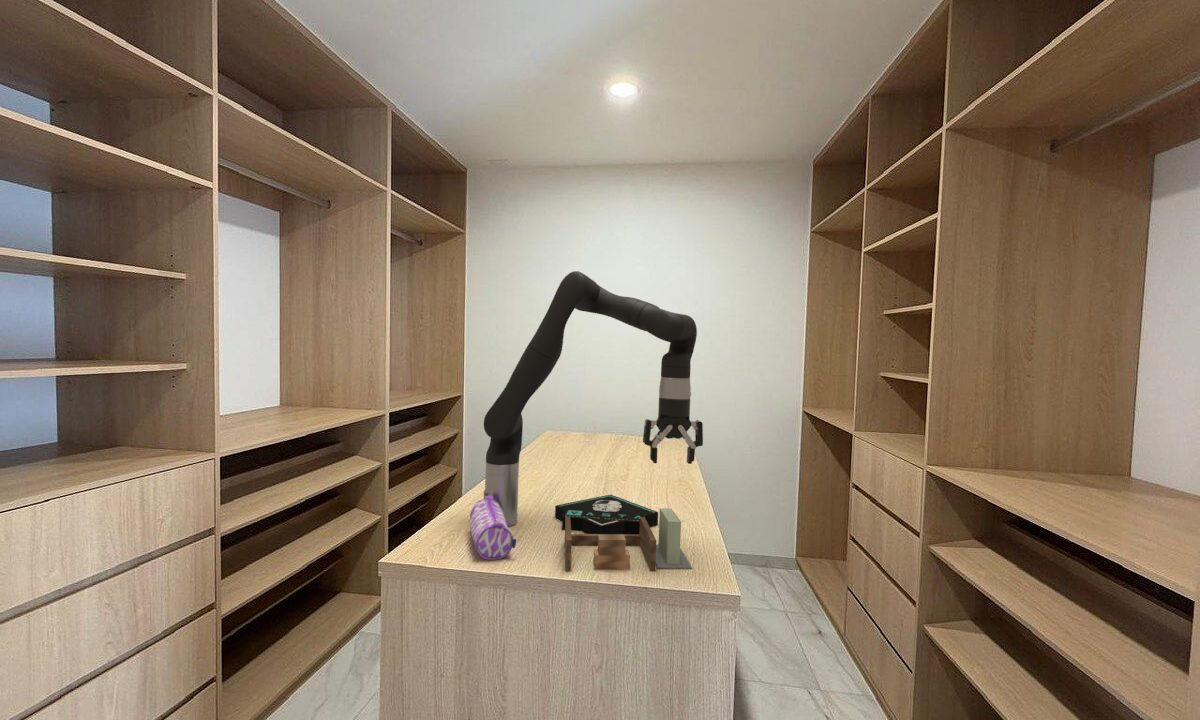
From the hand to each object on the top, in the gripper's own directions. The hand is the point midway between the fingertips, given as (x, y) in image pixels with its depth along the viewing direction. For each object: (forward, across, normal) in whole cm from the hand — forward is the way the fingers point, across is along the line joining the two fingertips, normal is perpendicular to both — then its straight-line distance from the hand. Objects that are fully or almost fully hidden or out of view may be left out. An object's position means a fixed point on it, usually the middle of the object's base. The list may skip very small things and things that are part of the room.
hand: (671, 463), depth 126 cm
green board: (+23, 0, 0) cm, 23 cm away
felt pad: (+23, 0, 0) cm, 23 cm away
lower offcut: (+23, +14, +6) cm, 28 cm away
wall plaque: (+24, +13, -26) cm, 37 cm away
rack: (+23, +15, 0) cm, 27 cm away
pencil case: (+23, +44, -7) cm, 50 cm away
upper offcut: (+20, +15, +6) cm, 25 cm away
